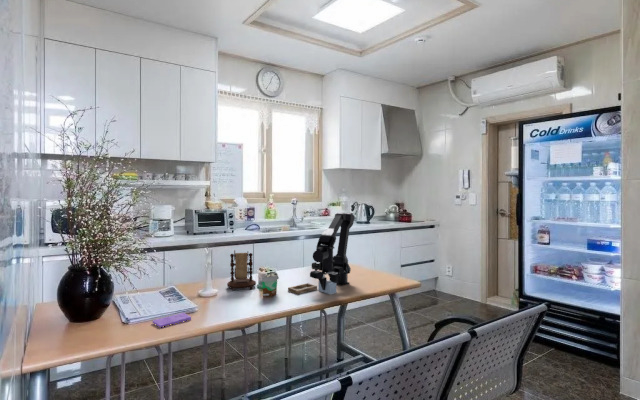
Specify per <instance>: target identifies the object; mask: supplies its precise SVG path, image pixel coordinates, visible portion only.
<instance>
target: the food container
mask: <svg viewBox="0 0 640 400" xmlns="http://www.w3.org/2000/svg"><path fill="white" fill-rule="evenodd" d="M278 280H279V274H278V272H275V271H269V273H268V274H267V275H265V276H262V277H261V286H262V298H270V297H275V296H277V291H278V290H277V288H278Z"/></svg>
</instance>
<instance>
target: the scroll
mask: <svg viewBox="0 0 640 400" xmlns="http://www.w3.org/2000/svg"><path fill="white" fill-rule="evenodd" d="M253 255H254V254H253V253H252V252H249V253H248V252H236V250H235V249H234V251H233V253H231V254H230V281H228V282H227V283H226V284H227V287H228V288H230V290H231V291H234V289H236V290H237V289H238V290H240V289H243V290H244V289H249V290H252V289H253V287H255V286H256V284H257V282H256V281H255V280H254V279H253V259H252V258H253ZM234 266H235V267H234ZM248 266H249V267H248Z"/></svg>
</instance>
